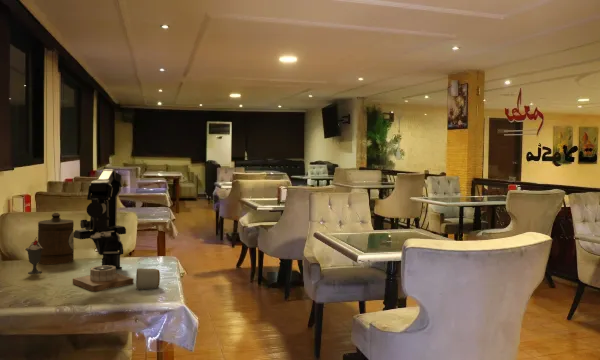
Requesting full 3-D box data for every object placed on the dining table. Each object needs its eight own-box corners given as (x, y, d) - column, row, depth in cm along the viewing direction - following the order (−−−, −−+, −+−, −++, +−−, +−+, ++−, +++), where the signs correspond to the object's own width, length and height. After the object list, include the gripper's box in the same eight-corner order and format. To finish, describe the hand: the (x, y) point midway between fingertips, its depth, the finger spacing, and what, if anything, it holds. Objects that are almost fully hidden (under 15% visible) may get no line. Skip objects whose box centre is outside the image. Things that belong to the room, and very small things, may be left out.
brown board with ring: (111, 276, 210) (111, 261, 210) (133, 283, 200) (133, 268, 199) (72, 283, 198) (72, 267, 198) (93, 291, 188) (93, 275, 187)
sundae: (36, 275, 210) (36, 238, 209) (21, 274, 211) (21, 237, 210) (47, 271, 216) (47, 235, 215) (33, 270, 217) (33, 234, 217)
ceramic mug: (160, 290, 191) (160, 269, 191) (137, 291, 188) (137, 270, 188) (157, 283, 201) (157, 263, 201) (134, 285, 198) (134, 265, 198)
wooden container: (79, 261, 237) (79, 213, 236) (46, 266, 226) (45, 215, 225) (64, 256, 247) (64, 210, 246) (32, 260, 236) (31, 212, 235)
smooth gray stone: (105, 276, 202) (105, 266, 202) (112, 278, 199) (112, 268, 199) (93, 278, 198) (93, 268, 198) (100, 280, 195) (100, 270, 195)
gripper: (111, 210, 211) (112, 248, 212) (66, 213, 197) (66, 254, 198) (126, 212, 204) (126, 252, 205) (80, 217, 190) (80, 259, 191)
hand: (100, 254), depth 200 cm, fingers closed
